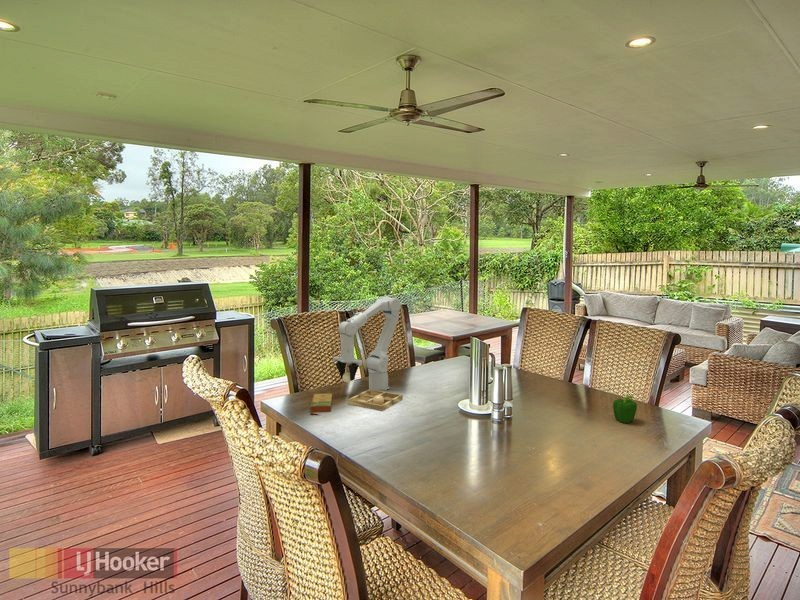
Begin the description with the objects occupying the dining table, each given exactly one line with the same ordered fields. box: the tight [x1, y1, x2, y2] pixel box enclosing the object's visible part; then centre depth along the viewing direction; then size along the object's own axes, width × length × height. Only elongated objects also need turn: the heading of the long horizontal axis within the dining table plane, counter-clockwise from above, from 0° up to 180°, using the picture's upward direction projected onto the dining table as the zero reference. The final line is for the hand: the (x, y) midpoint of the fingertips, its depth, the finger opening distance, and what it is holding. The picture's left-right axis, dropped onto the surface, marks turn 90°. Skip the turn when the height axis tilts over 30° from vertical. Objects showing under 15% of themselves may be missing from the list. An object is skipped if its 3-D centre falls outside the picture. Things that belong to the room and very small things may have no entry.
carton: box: [309, 393, 333, 416], centre depth 202 cm, size 8×16×4 cm, turn 6°
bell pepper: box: [612, 395, 638, 424], centre depth 188 cm, size 8×8×10 cm
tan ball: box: [373, 395, 384, 405], centre depth 201 cm, size 5×5×5 cm
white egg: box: [342, 371, 352, 383], centre depth 215 cm, size 5×5×5 cm
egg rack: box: [347, 388, 404, 412], centre depth 207 cm, size 17×17×3 cm
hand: (347, 379), depth 215 cm, fingers closed on white egg, 5 cm apart
